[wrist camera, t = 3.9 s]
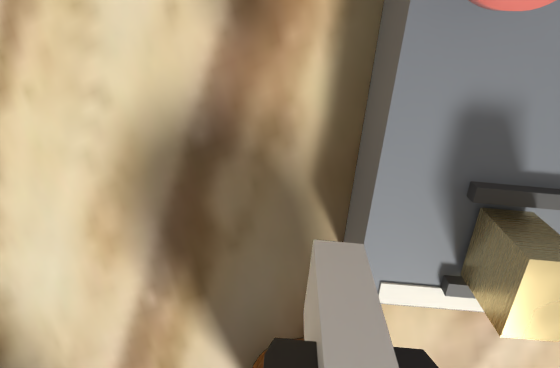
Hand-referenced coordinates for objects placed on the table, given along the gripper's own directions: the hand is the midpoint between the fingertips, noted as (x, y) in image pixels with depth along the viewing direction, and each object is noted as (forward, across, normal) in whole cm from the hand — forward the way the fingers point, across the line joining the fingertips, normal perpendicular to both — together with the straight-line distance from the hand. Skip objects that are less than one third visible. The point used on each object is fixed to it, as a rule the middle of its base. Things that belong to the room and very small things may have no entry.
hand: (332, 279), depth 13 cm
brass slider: (+4, +7, 0) cm, 8 cm away
